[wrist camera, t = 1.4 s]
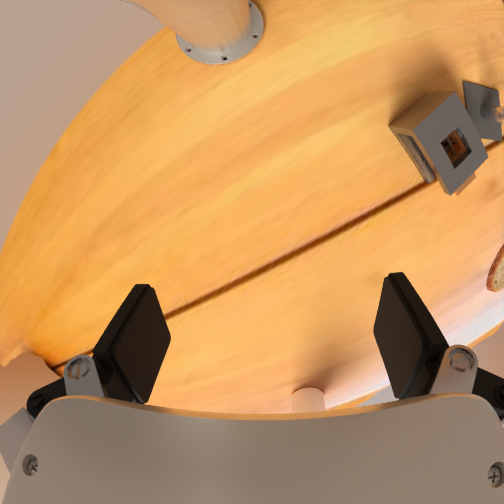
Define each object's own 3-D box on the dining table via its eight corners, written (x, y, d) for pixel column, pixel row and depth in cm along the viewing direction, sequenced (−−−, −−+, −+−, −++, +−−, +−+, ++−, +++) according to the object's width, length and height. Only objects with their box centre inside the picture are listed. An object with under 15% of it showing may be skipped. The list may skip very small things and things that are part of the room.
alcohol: (284, 399, 66) (283, 501, 39) (301, 383, 62) (306, 495, 35) (311, 405, 67) (316, 501, 40) (330, 389, 63) (341, 494, 36)
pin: (479, 103, 29) (514, 107, 20) (489, 105, 28) (523, 110, 20) (480, 119, 30) (515, 126, 22) (490, 121, 30) (525, 128, 21)
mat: (462, 81, 28) (463, 81, 28) (496, 90, 27) (498, 90, 26) (467, 136, 32) (468, 136, 32) (500, 140, 31) (501, 141, 31)
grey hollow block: (388, 126, 34) (412, 129, 27) (427, 92, 30) (455, 91, 23) (432, 194, 38) (457, 211, 31) (466, 161, 34) (494, 172, 27)
